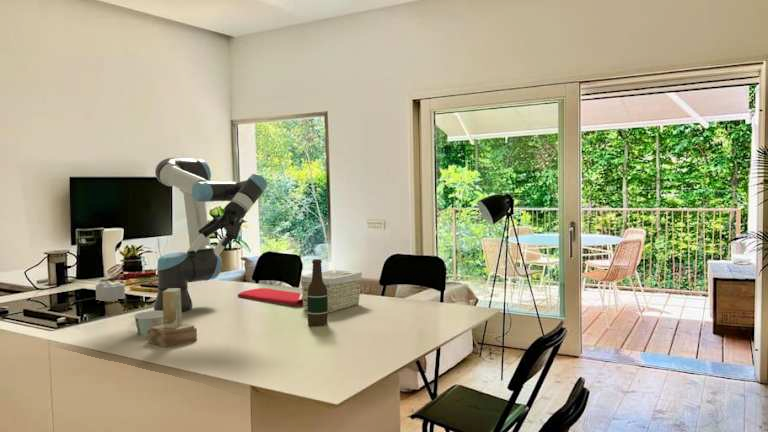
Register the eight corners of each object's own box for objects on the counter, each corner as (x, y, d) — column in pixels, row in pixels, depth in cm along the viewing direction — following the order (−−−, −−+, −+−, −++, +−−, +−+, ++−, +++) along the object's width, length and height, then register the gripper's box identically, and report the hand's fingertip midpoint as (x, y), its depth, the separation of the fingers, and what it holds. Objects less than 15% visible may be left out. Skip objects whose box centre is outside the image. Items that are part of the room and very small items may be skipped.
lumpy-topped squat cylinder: (107, 303, 257) (106, 284, 257) (89, 301, 264) (89, 282, 263) (128, 299, 266) (127, 281, 266) (110, 297, 273) (110, 279, 272)
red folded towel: (264, 293, 283) (264, 285, 283) (322, 303, 256) (322, 295, 256) (237, 298, 271) (237, 290, 271) (295, 309, 244) (295, 300, 244)
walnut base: (147, 342, 190) (147, 327, 190) (177, 335, 199) (177, 321, 199) (166, 347, 184) (166, 332, 184) (196, 340, 193) (196, 325, 192)
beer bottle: (324, 326, 210) (323, 261, 209) (304, 326, 212) (303, 260, 211) (330, 322, 218) (330, 258, 217) (311, 321, 219) (310, 258, 218)
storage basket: (334, 300, 260) (333, 268, 259) (364, 304, 251) (363, 270, 251) (299, 310, 240) (298, 275, 239) (330, 314, 231) (329, 278, 231)
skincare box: (168, 324, 194) (168, 288, 194) (182, 323, 195) (181, 287, 194) (162, 328, 188) (161, 291, 187) (176, 328, 188) (175, 291, 188)
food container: (148, 338, 196) (147, 319, 196) (126, 333, 202) (125, 315, 202) (177, 330, 206) (177, 312, 206) (156, 326, 212) (155, 309, 212)
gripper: (265, 215, 213) (232, 260, 202) (223, 213, 228) (190, 254, 217) (254, 201, 208) (219, 246, 197) (212, 199, 223) (177, 241, 213)
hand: (204, 251), depth 207 cm, fingers open, 13 cm apart
